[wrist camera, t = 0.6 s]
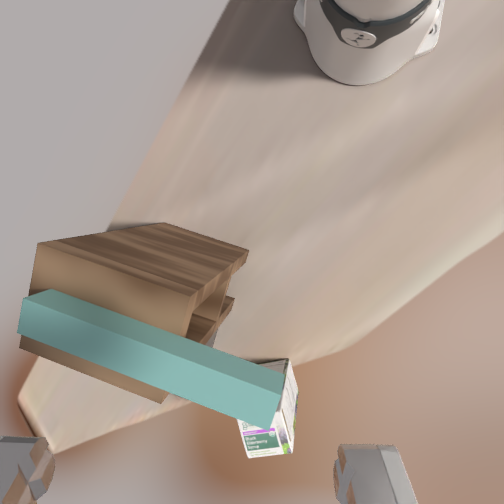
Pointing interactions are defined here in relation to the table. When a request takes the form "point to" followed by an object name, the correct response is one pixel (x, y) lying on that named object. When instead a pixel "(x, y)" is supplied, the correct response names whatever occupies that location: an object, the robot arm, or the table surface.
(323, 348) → the table surface
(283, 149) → the table surface
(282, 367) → the syrup box
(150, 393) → the walnut stand
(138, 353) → the teal tile bar
